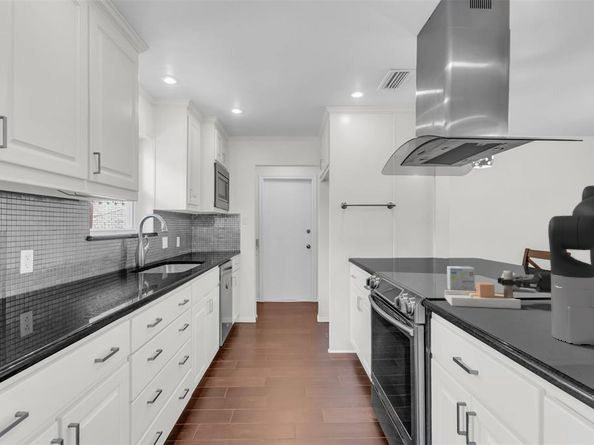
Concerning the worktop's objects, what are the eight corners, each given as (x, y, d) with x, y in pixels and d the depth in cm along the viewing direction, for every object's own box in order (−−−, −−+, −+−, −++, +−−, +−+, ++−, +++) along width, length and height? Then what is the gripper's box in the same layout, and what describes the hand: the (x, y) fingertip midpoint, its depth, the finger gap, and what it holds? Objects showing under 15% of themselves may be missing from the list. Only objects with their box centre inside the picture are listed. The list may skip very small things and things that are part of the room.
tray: (520, 308, 118) (520, 300, 118) (451, 305, 124) (451, 297, 124) (506, 299, 132) (506, 292, 132) (444, 297, 137) (444, 290, 137)
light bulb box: (471, 288, 154) (470, 265, 154) (475, 291, 147) (475, 268, 147) (446, 288, 156) (446, 265, 156) (450, 291, 149) (449, 267, 149)
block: (494, 297, 124) (494, 284, 124) (480, 297, 126) (479, 284, 126) (490, 295, 129) (490, 282, 129) (476, 294, 130) (476, 282, 130)
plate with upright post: (518, 303, 120) (518, 273, 120) (476, 301, 123) (476, 272, 123) (507, 296, 130) (507, 269, 130) (468, 295, 134) (468, 268, 134)
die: (522, 294, 144) (529, 275, 147) (503, 284, 145) (510, 265, 148) (511, 296, 152) (517, 278, 155) (493, 287, 153) (499, 269, 156)
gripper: (542, 269, 129) (493, 269, 133) (561, 275, 115) (506, 274, 119) (542, 288, 129) (493, 287, 133) (561, 297, 115) (506, 295, 119)
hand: (499, 281), depth 126 cm, fingers closed on plate with upright post, 3 cm apart
